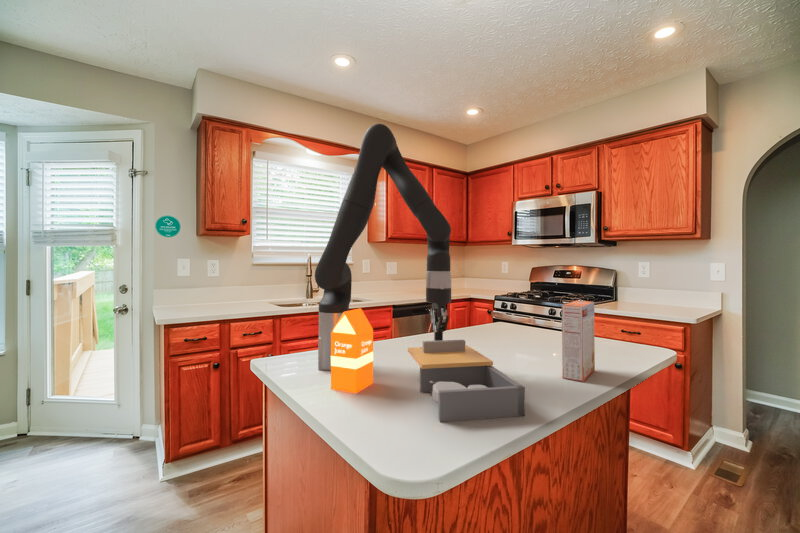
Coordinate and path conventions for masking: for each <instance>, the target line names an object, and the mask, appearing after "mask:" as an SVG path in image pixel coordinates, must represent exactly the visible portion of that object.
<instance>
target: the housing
mask: <svg viewBox="0 0 800 533" xmlns="http://www.w3.org/2000/svg"><path fill="white" fill-rule="evenodd" d="M429 381H433V382H435V383H437V382H455V383H459V384H461V385H463V386H465V387H466V388H467V387H468V386H469V385H484V386H486V387H488V388H474V389H457V390H440V391H438V403H437V404H438V405H437V406H438V407H437V408H438V409H437V410H438V412H437V413H438V416H437V418H438V422H439V423H445V422H459V421H460V422H461V421H469V420H470V421H472V420H473V421H474V420H486V419H487V420H488V419H498V418H499V419H500V418H514V417H524V416H525V415H526V414H525V412H526V411H525V409H526V408H525V405H526V403H525V402H526V399H525V398H526V396H525V392H526V390H525V387H524V386H523V385H522V384H520V383H519V382H518V381H515V380H514V379H513V378H511V377H509V376H508V375H507V374H505V373H503V372H502V371H500V370H499V369H497V368H496V367H494V365H490V366H470V367H449V368H428V369H422V368H421V367H420V366H419V392H420V393H432V392H433V385H434V383H430V382H429Z"/></svg>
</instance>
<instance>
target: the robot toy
mask: <svg viewBox="0 0 800 533" xmlns="http://www.w3.org/2000/svg"><path fill="white" fill-rule="evenodd" d="M429 382H430V383H434V385H433V392H431V393H432V399H433V400H434V401H435V402H436V403H437V404H438V391H440V390H457V389H474V388H488V387H486V386H484V385H469V386H468V387H467V388H466V387H465V386H463V385H461V384H459V383H455V382H437V383H435V382H433V381H429Z"/></svg>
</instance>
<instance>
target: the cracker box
mask: <svg viewBox="0 0 800 533" xmlns="http://www.w3.org/2000/svg"><path fill="white" fill-rule="evenodd" d="M561 335H562V336H561V338H562V339H561V342H562V343H561V350H562V352H561V355H562V356H561V357H562V359H561V360H562V364H561V365H562V366H561V367H562V379H564V380H570V381H577V382H581V383H584V382H585V381H586V380H587V379H588V378H589V377H590V376H591V374H593V372H595V370H596V364H595V363H596V361H595V359H596V358H595V357H596V356H595V349H596V348H595V343H596V342H595V301H589V300H588V301H587V300H586V301H585V300H574V301H571V302H567V303H566V304H562V305H561Z"/></svg>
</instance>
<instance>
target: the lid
mask: <svg viewBox="0 0 800 533" xmlns="http://www.w3.org/2000/svg"><path fill="white" fill-rule="evenodd" d="M407 353H409V354H410V356H411V357H412V358H413V360H414V361H415V362H416V363H417V365H419V368H420V367H421V368H422V369H428V368H449V367H470V366H490V365H491V366H494V361H493V360H492V359H490V358H488V357H486V356H485V355H484V354H482V353H480V352H479V351H477V350H475V349H474V348H472V347H471V346H469V345H466V340H465V339H443V340H438V341H434V340H423V341H422V346H421V347H416V346H415V347H407Z"/></svg>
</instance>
